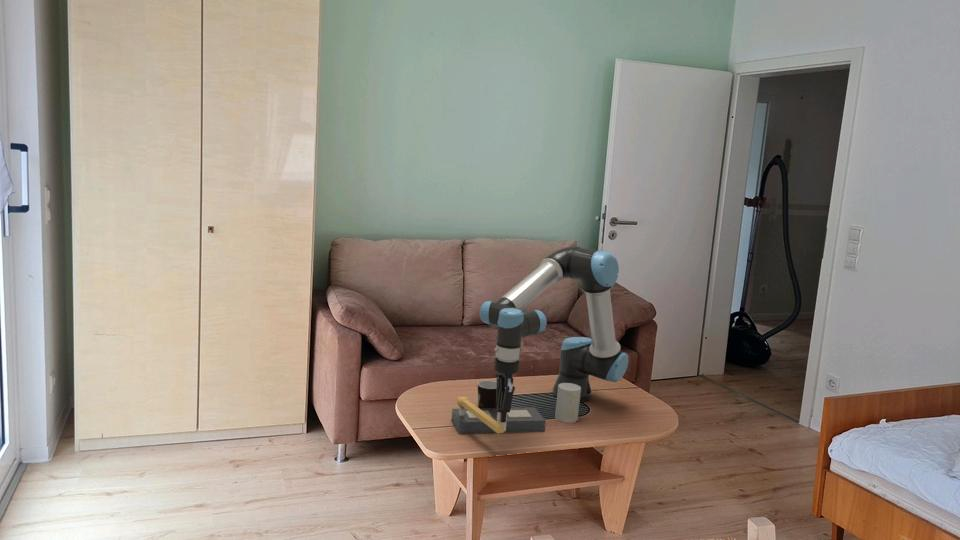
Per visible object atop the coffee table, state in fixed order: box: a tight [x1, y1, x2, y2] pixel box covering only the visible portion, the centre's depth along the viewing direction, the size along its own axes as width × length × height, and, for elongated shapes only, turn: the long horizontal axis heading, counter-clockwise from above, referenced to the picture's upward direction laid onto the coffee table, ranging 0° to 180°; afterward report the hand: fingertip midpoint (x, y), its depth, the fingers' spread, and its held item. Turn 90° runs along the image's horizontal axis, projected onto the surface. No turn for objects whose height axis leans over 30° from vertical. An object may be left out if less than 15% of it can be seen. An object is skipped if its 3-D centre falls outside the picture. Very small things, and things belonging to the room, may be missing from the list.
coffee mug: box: [477, 380, 498, 408], centre depth 264 cm, size 12×9×10 cm
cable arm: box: [456, 396, 505, 434], centre depth 236 cm, size 27×4×2 cm, turn 29°
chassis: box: [450, 405, 546, 435], centre depth 250 cm, size 30×12×8 cm, turn 104°
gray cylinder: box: [554, 383, 581, 424], centre depth 261 cm, size 8×8×12 cm
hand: (500, 430), depth 230 cm, fingers closed
